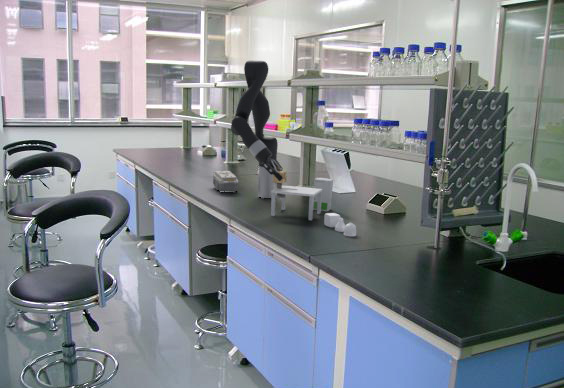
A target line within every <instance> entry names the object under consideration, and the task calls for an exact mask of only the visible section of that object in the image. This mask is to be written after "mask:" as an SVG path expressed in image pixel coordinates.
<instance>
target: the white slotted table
mask: <svg viewBox="0 0 564 388" xmlns="http://www.w3.org/2000/svg"><path fill="white" fill-rule="evenodd" d="M271 193H272V196H271V199H270V200H271V201H270V202H271V204H270V206H271V207H270V216H271V217H275V216H276V202H277V201H276V199H277V198H276V193H280V194H285V197H284V198H281V206H280V207H281V208H280V210H281V211H286V196H287V195H293V196H300V197H301V196H303V197H309V199H308V200H309V201H308V221H313V218H314V210H313V199H314V196H315V195H317V194H318V202H317V210H316V214H317V215H321V214H322V211H321V199H322V189H317V188H314V187H306V186H305V187H304V186H294V185H283V184H282V189H278V188H277V187H275V189H274V190H271Z"/></svg>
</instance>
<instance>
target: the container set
mask: <svg viewBox="0 0 564 388" xmlns="http://www.w3.org/2000/svg"><path fill="white" fill-rule="evenodd" d="M323 219H324V221H323V222H324V223H323V224H324V226H326V227H329V228H334V231H335V232H341V233H343V236H346V237H357V226H356V225H355V224H354V223H352V222H349V223H347V224H345V222H344V218H343V217H341V215H340V214H338V213H336V212H327V213H325V214H324V218H323Z"/></svg>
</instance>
